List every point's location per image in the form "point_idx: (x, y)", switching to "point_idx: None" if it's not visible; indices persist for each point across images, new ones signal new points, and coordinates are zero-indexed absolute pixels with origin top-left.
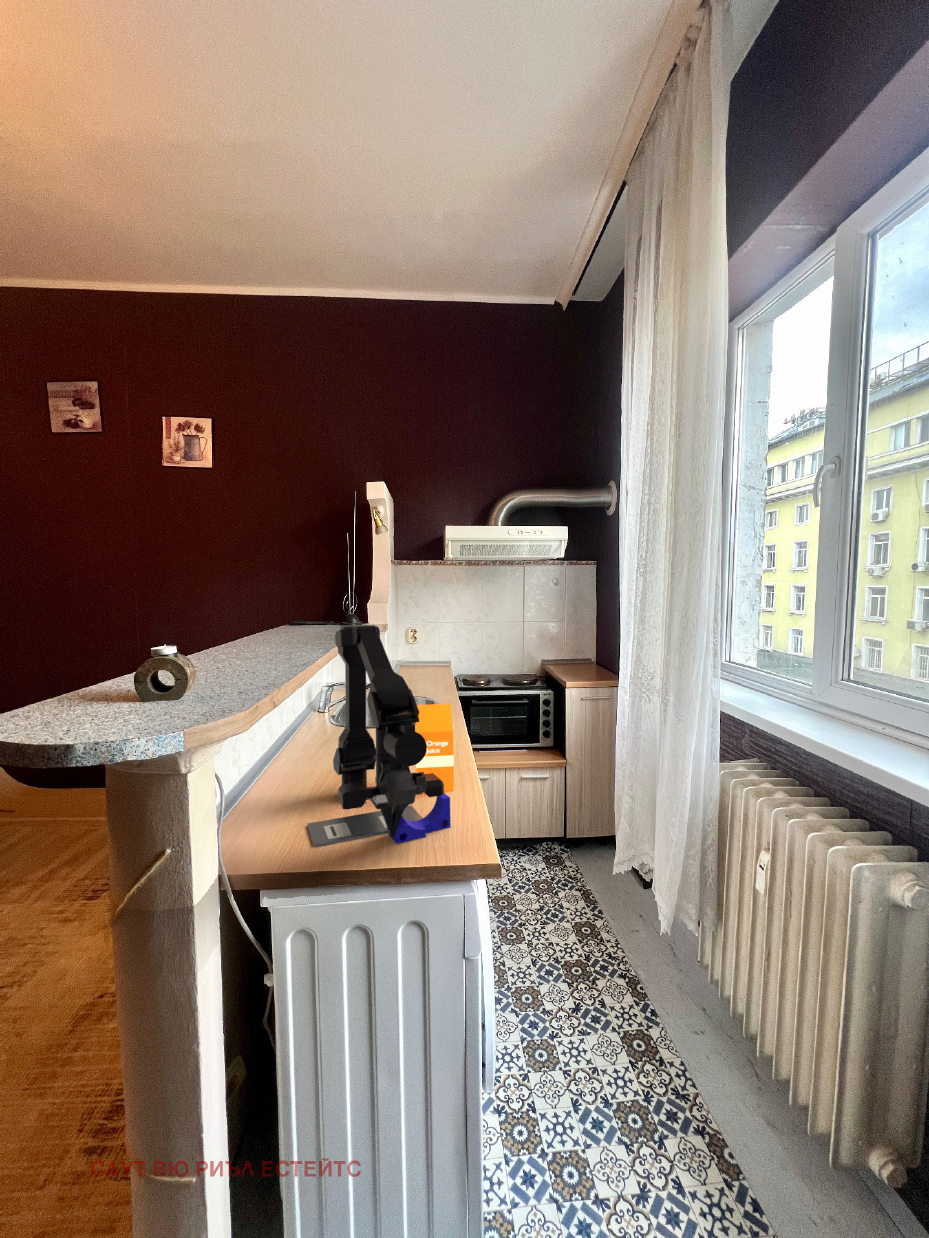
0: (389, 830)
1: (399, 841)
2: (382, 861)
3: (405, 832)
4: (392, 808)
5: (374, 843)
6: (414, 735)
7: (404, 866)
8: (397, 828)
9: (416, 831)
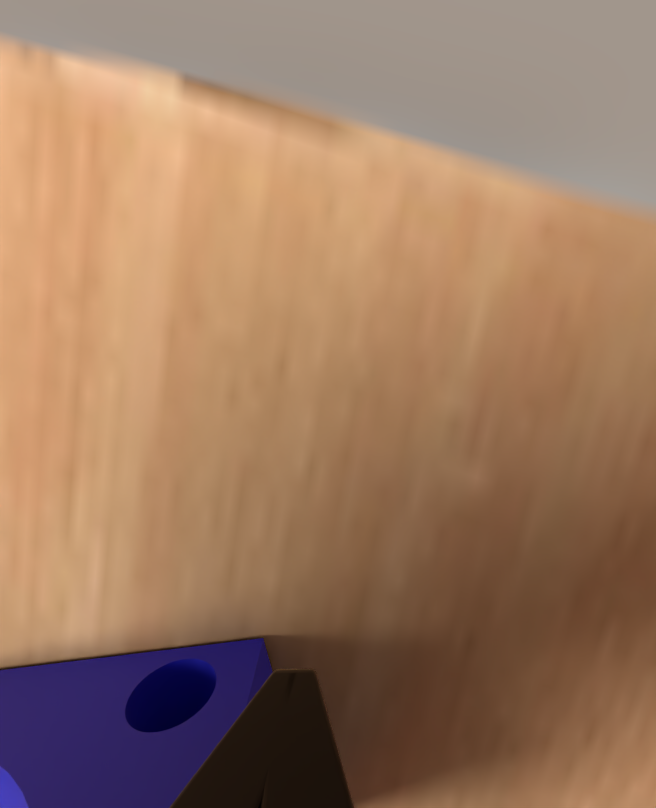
0: (335, 744)
1: (226, 654)
2: (476, 330)
3: (127, 732)
4: None
5: (472, 716)
6: None
7: (244, 118)
8: None
9: (8, 730)
